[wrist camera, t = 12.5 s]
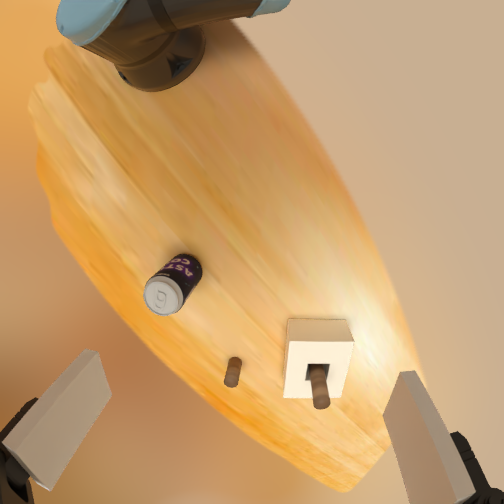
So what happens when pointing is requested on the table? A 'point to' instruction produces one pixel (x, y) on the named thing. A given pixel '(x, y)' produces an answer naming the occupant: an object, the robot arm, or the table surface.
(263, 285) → the table surface
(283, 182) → the table surface
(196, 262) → the beverage can
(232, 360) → the short pin
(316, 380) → the long pin
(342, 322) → the hole block
